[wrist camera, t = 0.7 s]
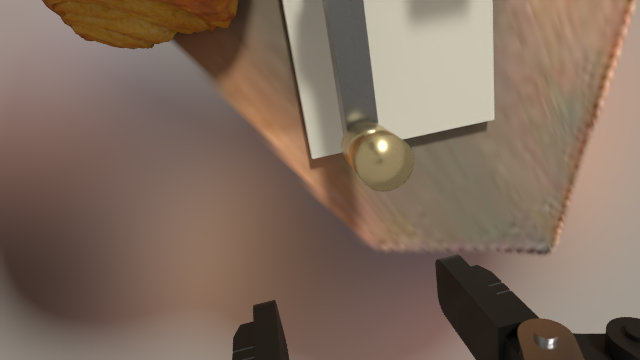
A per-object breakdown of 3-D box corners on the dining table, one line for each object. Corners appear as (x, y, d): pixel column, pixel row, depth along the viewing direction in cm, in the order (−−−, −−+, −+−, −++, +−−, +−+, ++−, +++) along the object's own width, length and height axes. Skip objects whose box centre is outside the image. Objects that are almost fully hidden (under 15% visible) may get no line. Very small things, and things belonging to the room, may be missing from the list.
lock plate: (262, -99, 29) (267, -137, 23) (507, -136, 31) (575, -181, 25) (310, 155, 36) (324, 182, 30) (508, 113, 38) (561, 129, 32)
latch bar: (297, -80, 26) (313, -115, 20) (357, -89, 26) (391, -127, 20) (337, 166, 32) (359, 197, 26) (386, 155, 32) (419, 184, 26)
